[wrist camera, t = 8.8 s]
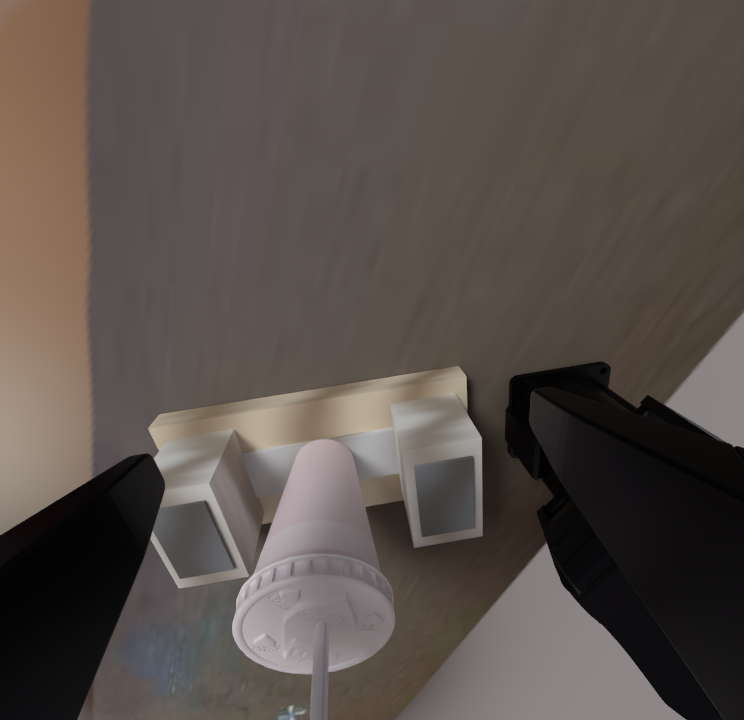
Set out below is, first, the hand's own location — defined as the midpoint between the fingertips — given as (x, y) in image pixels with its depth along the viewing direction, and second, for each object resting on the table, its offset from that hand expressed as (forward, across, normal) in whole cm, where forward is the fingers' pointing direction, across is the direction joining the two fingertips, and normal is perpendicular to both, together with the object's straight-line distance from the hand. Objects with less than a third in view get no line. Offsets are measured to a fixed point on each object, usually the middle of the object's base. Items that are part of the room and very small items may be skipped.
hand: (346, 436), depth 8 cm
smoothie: (+11, +3, +10) cm, 15 cm away
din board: (+13, +3, +10) cm, 17 cm away
